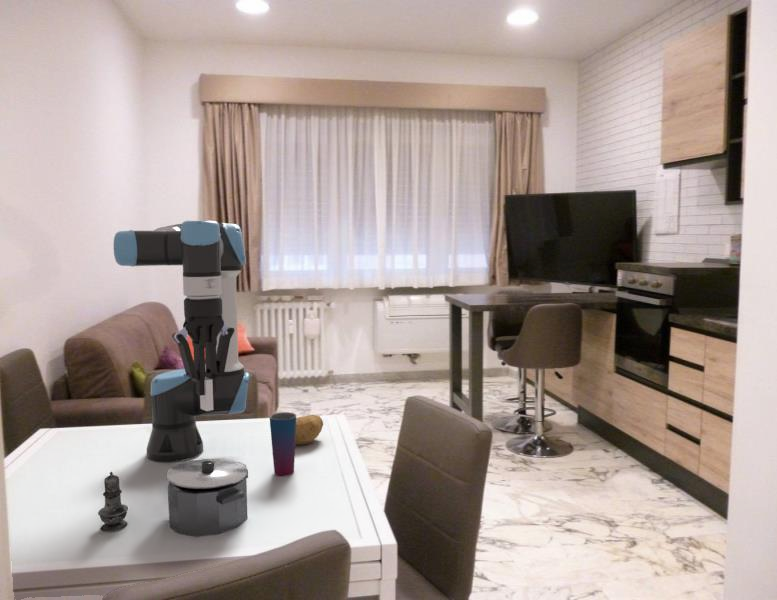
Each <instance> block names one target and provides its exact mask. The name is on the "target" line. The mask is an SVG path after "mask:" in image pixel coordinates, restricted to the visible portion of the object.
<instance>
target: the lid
mask: <svg viewBox="0 0 777 600" xmlns="http://www.w3.org/2000/svg"><path fill="white" fill-rule="evenodd" d="M247 470H248V468H247V465H246V464H245V463H241V462H239V461H234V460H230V459H224V458H223V459H222V458H206V459H204V458H203V459H195V460H190V461H185V462H182V463H179V464H176V465H174V466H173V467H170V468H169V469H168V471H167V473H166V479H167V482H168V483H169V482H170V483H171V484H173V485H176V486H179V487H184V488H193V489H208V488H218V487H224V486H228V485H232V484H234V483H237V482H239V481H241V480H243V479H244V478H245V477H246V476H247Z"/></svg>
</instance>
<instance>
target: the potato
mask: <svg viewBox="0 0 777 600" xmlns="http://www.w3.org/2000/svg"><path fill="white" fill-rule="evenodd" d="M323 426H324V420H323V419H322V417H321V416H320V415H315V414H307V415H304V416H298V417H296V435H295V445H301V446H302V445H307V444H310V443H312V442H313V441H314V440H316V439H317V437H319V435H320V434H321V432H322V429H323Z"/></svg>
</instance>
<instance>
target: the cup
mask: <svg viewBox="0 0 777 600" xmlns="http://www.w3.org/2000/svg"><path fill="white" fill-rule="evenodd" d="M296 418H297V414H296V413H293V412H285V411H284V412H281V411H280V412H276V413H273V414H270V415H269V429H270V437H271V448H272V449H271V450H272V460H273V472H274V474H275V476H280V477H286V476H287V477H288V476H291V475H293V474H294V472H295V457H296V456H295V455H296V454H295V453H296V444H295V435H296Z"/></svg>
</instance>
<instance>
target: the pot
mask: <svg viewBox="0 0 777 600" xmlns="http://www.w3.org/2000/svg"><path fill="white" fill-rule="evenodd" d="M247 479H249V470H248V469H247V476H246V477H245V478H244V479H243V480H241V481H239V482H237V483H234V484H232V485H228V486H224V487H218V488H208V489H193V488H184V487H179V486H176V485H173V484H171V483H170V482H169V481H168V483H167V496H168V497H167V498H168V499H167V501H168V502H167V503H168V522H169V524H168V527H169V528H170V529H171V530H173V531H174V532H176V533H177V534H178V535H183V536H193V537H203V536H212V535H213V536H214V535H219V534H222V533H225V532H228V531H230V530H233V529H236V528H238V527H240V525H241V524H242V523H243V522H245V521H246V520H247V518H248V490H247V489H248V488H247V486H248V485H247V482H248V481H247Z"/></svg>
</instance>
